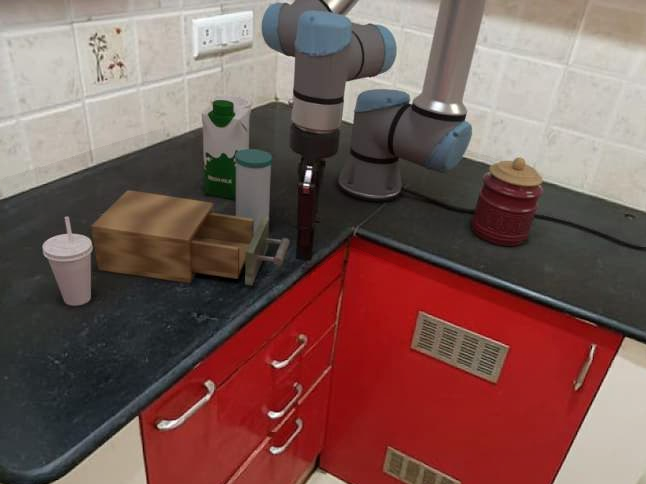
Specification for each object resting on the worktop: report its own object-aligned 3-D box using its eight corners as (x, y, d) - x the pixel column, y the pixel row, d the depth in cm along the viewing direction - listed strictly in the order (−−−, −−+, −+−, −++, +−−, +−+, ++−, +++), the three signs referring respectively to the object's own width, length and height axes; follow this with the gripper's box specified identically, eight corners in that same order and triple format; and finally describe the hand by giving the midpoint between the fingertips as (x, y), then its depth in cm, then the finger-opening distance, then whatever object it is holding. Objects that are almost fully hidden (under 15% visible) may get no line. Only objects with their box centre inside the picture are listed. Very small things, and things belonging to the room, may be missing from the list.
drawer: (291, 251, 104) (293, 221, 100) (278, 289, 93) (279, 257, 89) (192, 236, 103) (190, 205, 99) (167, 273, 92) (165, 239, 89)
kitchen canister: (479, 213, 132) (499, 141, 122) (532, 230, 128) (557, 158, 118) (462, 234, 121) (482, 157, 112) (519, 253, 118) (545, 176, 108)
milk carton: (200, 196, 119) (196, 102, 108) (214, 179, 126) (212, 90, 115) (240, 203, 118) (241, 110, 107) (252, 186, 126) (254, 97, 115)
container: (272, 221, 114) (275, 152, 106) (265, 237, 108) (268, 165, 100) (239, 216, 114) (240, 146, 105) (230, 232, 108) (230, 159, 100)
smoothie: (98, 309, 84) (84, 228, 76) (50, 312, 82) (31, 229, 74) (102, 285, 89) (90, 206, 81) (57, 287, 87) (40, 206, 79)
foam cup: (214, 143, 144) (213, 92, 136) (251, 147, 145) (252, 97, 138) (209, 157, 136) (208, 104, 129) (248, 161, 137) (249, 109, 130)
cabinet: (214, 242, 104) (213, 202, 99) (190, 283, 92) (188, 240, 88) (132, 230, 103) (127, 189, 99) (97, 269, 92) (90, 225, 87)
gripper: (297, 109, 89) (289, 236, 102) (283, 135, 78) (275, 274, 91) (344, 116, 89) (329, 242, 102) (336, 143, 78) (320, 281, 91)
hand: (304, 257), depth 97 cm, fingers closed
